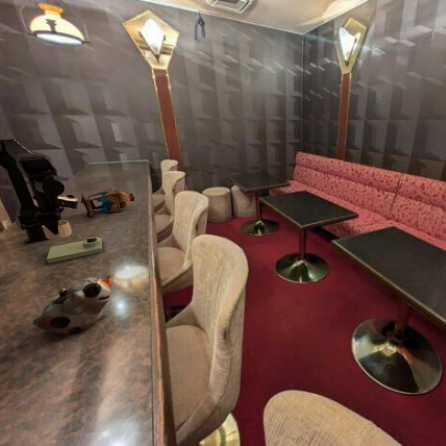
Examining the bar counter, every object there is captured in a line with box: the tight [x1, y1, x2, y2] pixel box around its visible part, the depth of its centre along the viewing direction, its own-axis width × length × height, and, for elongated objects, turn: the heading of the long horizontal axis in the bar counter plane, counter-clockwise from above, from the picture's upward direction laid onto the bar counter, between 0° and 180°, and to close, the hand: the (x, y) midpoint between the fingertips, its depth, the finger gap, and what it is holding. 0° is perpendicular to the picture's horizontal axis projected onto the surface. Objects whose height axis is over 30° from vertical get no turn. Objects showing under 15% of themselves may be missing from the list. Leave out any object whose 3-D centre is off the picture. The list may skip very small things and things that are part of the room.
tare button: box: [86, 235, 97, 243], centre depth 102 cm, size 3×3×2 cm
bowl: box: [42, 219, 73, 240], centre depth 95 cm, size 7×7×5 cm
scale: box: [46, 237, 103, 264], centre depth 100 cm, size 16×12×4 cm
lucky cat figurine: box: [32, 275, 113, 335], centre depth 65 cm, size 15×12×14 cm
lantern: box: [80, 187, 136, 218], centre depth 145 cm, size 16×16×25 cm
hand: (57, 231), depth 95 cm, fingers closed on bowl, 7 cm apart
